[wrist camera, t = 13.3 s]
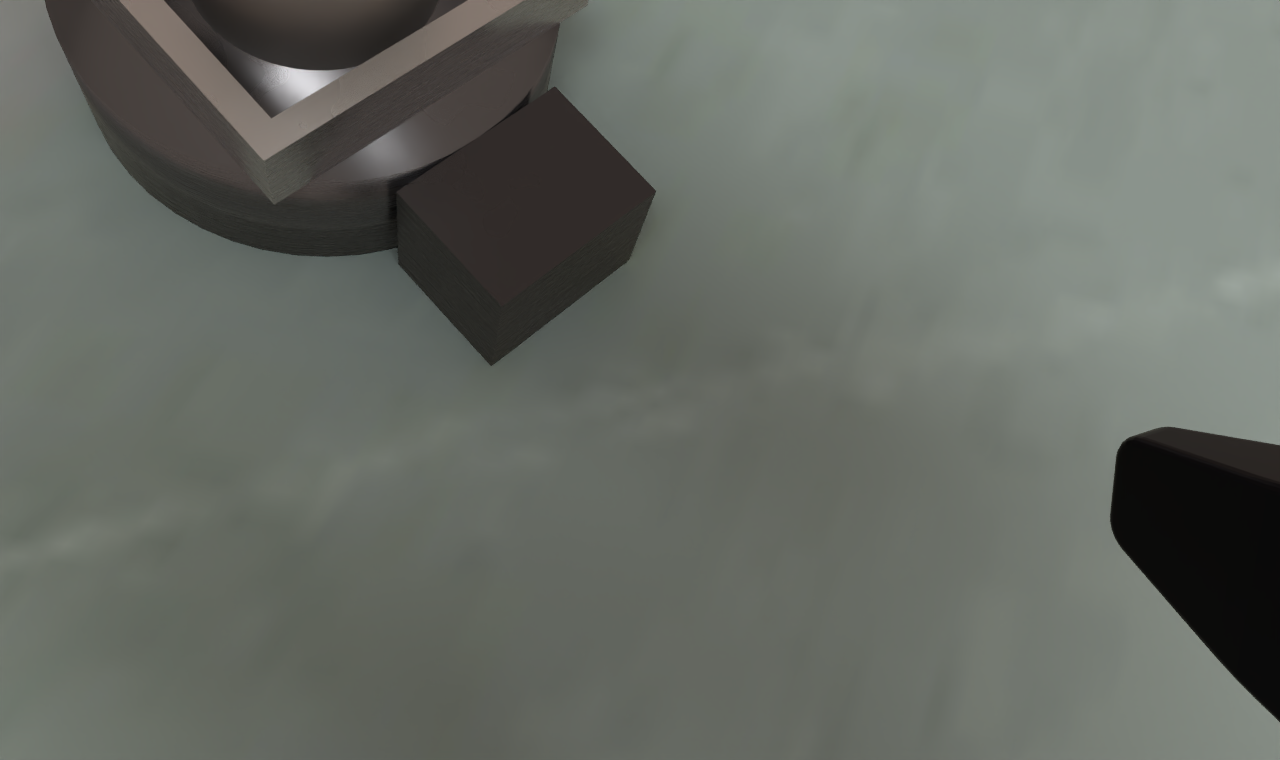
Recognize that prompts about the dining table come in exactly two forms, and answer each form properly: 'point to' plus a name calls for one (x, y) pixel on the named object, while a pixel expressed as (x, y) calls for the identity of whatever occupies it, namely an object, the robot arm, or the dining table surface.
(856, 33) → the dining table surface
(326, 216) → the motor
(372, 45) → the beige teal capped bottle
